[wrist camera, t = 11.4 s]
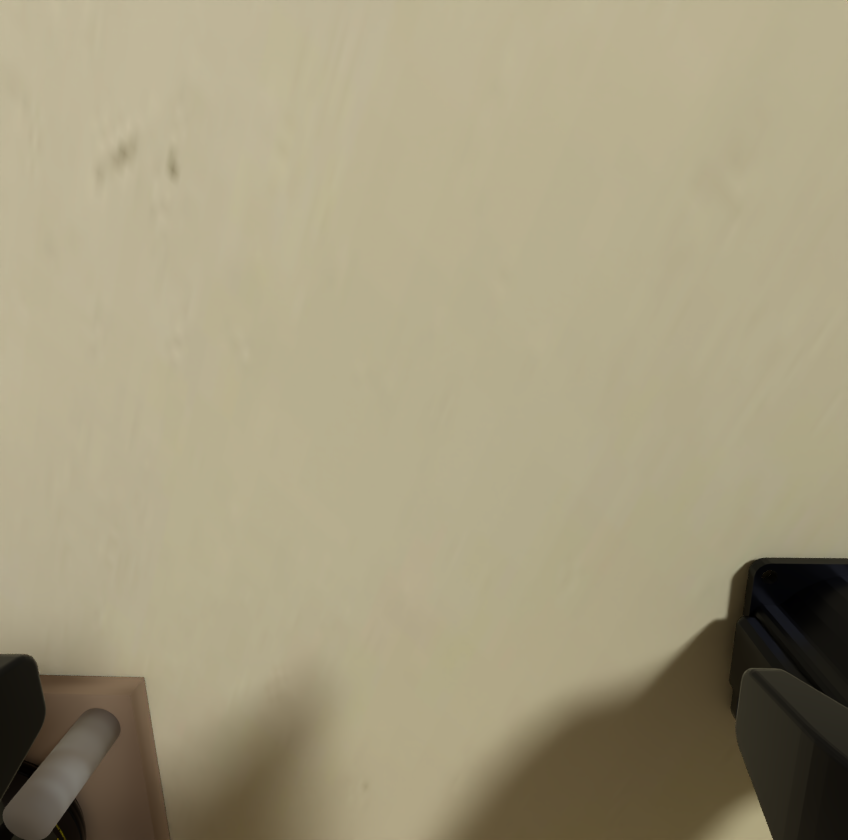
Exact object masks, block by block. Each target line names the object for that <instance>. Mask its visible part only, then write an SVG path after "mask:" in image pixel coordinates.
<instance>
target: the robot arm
mask: <svg viewBox="0 0 848 840" xmlns="http://www.w3.org/2000/svg"><path fill="white" fill-rule="evenodd" d="M768 570H772V572H771V574H770V575H769V576H768V577H765V578H762V575H763V573H764V572H766V571H768ZM729 681H730V684H731V686H732V687H733V695H732V702H731V713H732V714H733V716H734V718H735V719H736V725H735V728H736V738H737V742H738V746H739V749H740V752H741V754H742V757H743V760H744V762H745V765H746V768H747V770H748V773H749V776H750V779H751V781H752V784H753V787H754V789H755V792H756V795H757V797H758V800H759V803H760V806H761V808H762V811H763V814H764V816H765V819H766V822H767V824H768V827H769V830H770V833H771V835H772V838H773V840H848V559H846V558H761V559H758V560H756V561H755V562H754V563H753V564H752V565H751V566H750V569H749V573H748V580H747V588H746V596H745V603H744V611H743V616H742V617H741V618H740V619H739V621H738V622H737V624H736V632H735V640H734V648H733V656H732V663H731V671H730V679H729ZM45 715H46V704H45V699H44V695H43V690H42V685H41V681H40V676H39V671H38V666H37V663H36V661H35V660H34V658H33V657H32V656H29V655H27V654H0V801H1V799H2V798H3V796H4V794H5V792H6V791H7V789H8V787H9V785H10V783H11V782H12V780H13V778H14V776H15V775H16V773H17V771H18V769H19V768H20V766H21V764H22V762H23V760H24V759H25V757H26V755H27V753H28V752H29V750H30V748H31V746H32V744H33V743H34V741H35V739H36V737H37V736H38V734H39V732H40V730H41V728H42V726H43V723H44V720H45Z"/></svg>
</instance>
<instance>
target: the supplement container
mask: <svg viewBox="0 0 848 840" xmlns="http://www.w3.org/2000/svg"><path fill="white" fill-rule="evenodd" d="M38 767H39V766H38V765H36V764H33V763H31V762H28V761H26V760H23V762H22V764H21V766H20V768H19V769H18V771H17V773H16V775H15V776H14V778H13V780H12V782H11V783H10V785H9V787H8V789H7V791H6V792H5V794H4V796H3V798H2V799H1V801H0V840H25V839H22V838H19V837H17V836H16V835H14V834H13V833H12V832H11V831H10V830H9V829H8V828H7V827H6V825H5V823H4V821H3V811H4V809H5V807H6V806H7V805H8V804H9V802H10V801H11V800H12V799H13V797H14V796H15V795H16V794H17V793H18V791H19V790H20V789H21V788H22V787H23V785H24V784H25V783H26V782H27V780H28V779H29V778H30V777H31V776H32V774H33V773H34V772H35V771H36V770H37V768H38ZM86 839H87V833H86V824H85V820H84V816H83V812H82V810H81V807H80V805H79V803H78V801H77V800H76V798H75V799H74V800H73V802H72V803H71V804H70V806H69V807H68V809H67V810H66V812H65V813H64V814H63V816H62V817H61V819H60V820H59V821H58V823H57V824H56V826H55V827H54V828H53V830H52V831H51V833H50V834H49V835H48V836H47V837H46V838H44V839H41V840H86Z"/></svg>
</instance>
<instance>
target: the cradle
mask: <svg viewBox="0 0 848 840" xmlns="http://www.w3.org/2000/svg"><path fill="white" fill-rule="evenodd" d="M39 676H40V681H41V685H42V690H43V695H44V699H45V704H46V715H45V720H44V723H43V726H42V728H41V730H40V732H39V734H38V736H37V737H36V739H35V741H34V743H33V744H32V746H31V748H30V750H29V752H28V753H27V755H26V757H25V759H24V760H26V761H28V762H31V763H33V764H36V765H38V766H39V767H38V768H37V770H36V771H35V772H34V773H33V774H32V776H31V777H30V778H29V779H28V780H27V782H26V783H25V784H24V785H23V787H22V788H21V789H20V790H19V791H18V793H17V794H16V795H15V796H14V797H13V799H12V800H11V801H10V802H9V804H8V805H7V806H6V807H5V809H4V811H3V821H4V823H5V825H6V827H7V828H8V829H9V830H10V831H11V832H12V833H13V834H14V835H16V836H17V837H19V838H22V839H25V840H41V839H44V838H46V837H47V836H48V835H49V834H50V833H51V831H52V830H53V828H54V827H55V826H56V824H57V823H58V821H59V820H60V819H61V817H62V816H63V814H64V813H65V812H66V810H67V809H68V807H69V806H70V804H71V803H72V802H73V800H74V799H75V798H76V800H77V801H78V803H79V805H80V807H81V810H82V812H83V816H84V820H85V824H86V833H87V839H86V840H170V836H169V829H168V823H167V817H166V811H165V804H164V798H163V792H162V786H161V780H160V773H159V767H158V761H157V755H156V748H155V742H154V736H153V730H152V724H151V717H150V711H149V705H148V699H147V693H146V686H145V680H144V677H101V676H57V675H39Z"/></svg>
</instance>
